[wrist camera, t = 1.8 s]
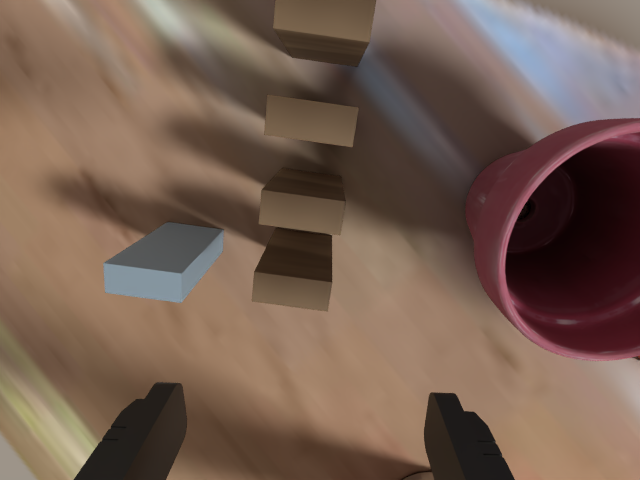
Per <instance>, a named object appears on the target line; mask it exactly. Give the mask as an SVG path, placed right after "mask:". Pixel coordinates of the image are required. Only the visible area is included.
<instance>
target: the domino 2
mask: <svg viewBox="0 0 640 480" xmlns="http://www.w3.org/2000/svg"><path fill="white" fill-rule="evenodd" d="M375 4H376V0H275V11H274V23H273V29H274V30H275V32H276V33H277V35H278V36H279V38H280V39H281V41H282V42H283V44H284V46H285V47H286V49H287V50H288V52H289V53H290V55H291V56H292V58H299V59H306V60H313V61H320V62H327V63H334V64H340V65H347V66H354V67H357V66H358V64H359V62H360V60H361V58H362V56H363V54H364V52H365V50H366V48H367V46H368V44H369V42H370V36H371V29H372V23H373V17H374V11H375Z"/></svg>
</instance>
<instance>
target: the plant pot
mask: <svg viewBox="0 0 640 480" xmlns="http://www.w3.org/2000/svg"><path fill="white" fill-rule="evenodd" d="M527 201H528V202H529V203H530V205H531V210H530V213H529V214H528V216H526V217H525V218H524V219H520V220H518V219H517V218H518V215H519V214H520V212H521V210H522V208H523V206H524V205H525V203H526V202H527ZM465 214H466V221H467V224H468V227H469V229H470V232H471V235H472V238H473V240H474V258H475V265H476V269H477V273H478V276H479V279H480V281H481V284H482V286H483V288H484V290H485V291H486V293H487V295H488V296H489V297H490V299H491V300H492V301H493V303H494V304H495V305H496V306H497V308H498V309H499V310H500V311H501V312H502V313H503V315H504V316H505V317H506V318H507V319H508V320H509V321H510V322H511V323H512V324H513V325H514V326H515V327H516V328H517V329H518V330H519V331H520V332H521V333H522V334H523V335H524V336H525V337H527V338H528V339H529V340H530V341H532V342H533V343H535V344H537V345H538V346H540V347H542V348H544V349H546V350H548V351H550V352H553V353H556V354H558V355H562V356H565V357H569V358H573V359H579V360H589V361H609V360H619V359H625V358H631V357H636V356H639V355H640V118H628V119H607V120H596V121H590V122H585V123H580V124H577V125H573V126H570V127H567V128H564V129H562V130H560V131H557V132H555V133H553V134H551V135H549V136H547V137H545V138H543V139H541V140H540V141H538V142H537V143H535V144H534V145H532V146H531V147H529V148H528V149H525V150H522V151H519V152H515V153H511V154H508V155H506V156H503V157H501V158H499V159H497V160H496V161H494V162H492V163H491V164H490V165H488V166H487V167H486V168H485V169H484V170H483V171H482V172H481V173H480V174H479V175H478V176H477V178H476V179H475V181H474V182H473V184H472V186H471V188H470V190H469V192H468V195H467V199H466V207H465Z"/></svg>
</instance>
